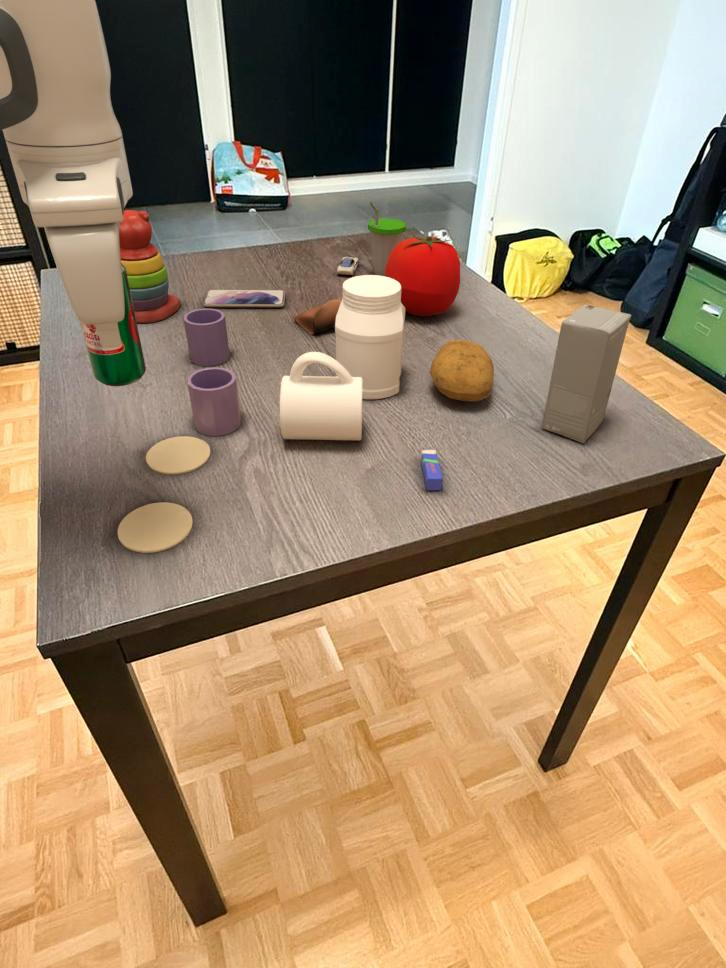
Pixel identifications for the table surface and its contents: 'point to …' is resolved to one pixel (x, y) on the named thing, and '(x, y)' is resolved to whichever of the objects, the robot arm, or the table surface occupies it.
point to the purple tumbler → (214, 401)
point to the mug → (320, 402)
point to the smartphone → (245, 298)
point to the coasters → (164, 520)
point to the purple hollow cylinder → (207, 336)
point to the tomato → (425, 274)
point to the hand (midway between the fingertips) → (110, 330)
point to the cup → (384, 239)
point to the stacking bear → (145, 269)
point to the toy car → (347, 266)
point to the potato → (463, 371)
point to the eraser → (431, 470)
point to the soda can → (117, 348)
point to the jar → (371, 333)
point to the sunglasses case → (319, 317)
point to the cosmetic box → (584, 371)
